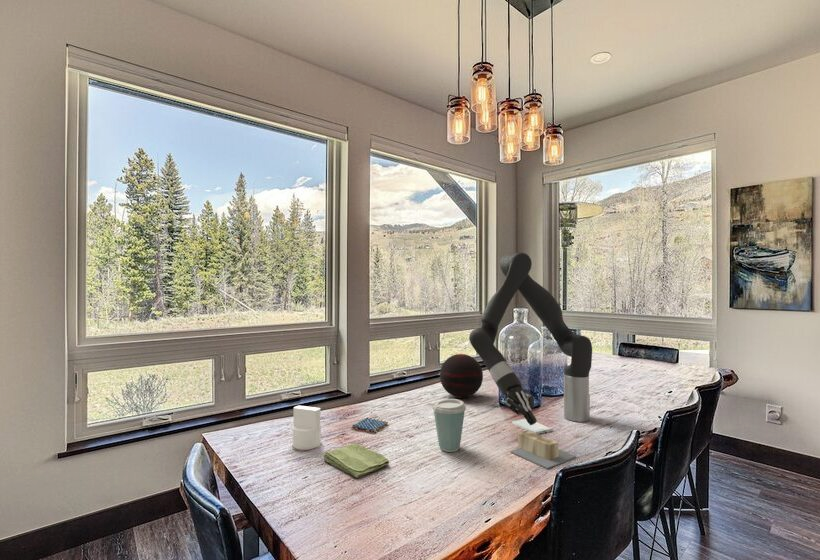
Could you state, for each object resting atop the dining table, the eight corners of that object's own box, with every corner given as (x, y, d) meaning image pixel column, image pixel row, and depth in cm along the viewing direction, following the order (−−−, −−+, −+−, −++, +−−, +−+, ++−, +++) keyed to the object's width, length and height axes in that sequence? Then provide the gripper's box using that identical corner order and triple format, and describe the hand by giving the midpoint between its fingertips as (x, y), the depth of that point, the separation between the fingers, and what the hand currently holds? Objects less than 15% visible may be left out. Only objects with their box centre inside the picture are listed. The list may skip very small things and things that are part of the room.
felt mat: (538, 442, 139) (538, 441, 139) (575, 457, 128) (575, 456, 128) (510, 452, 131) (510, 451, 131) (547, 469, 120) (547, 467, 120)
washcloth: (357, 482, 113) (357, 470, 113) (321, 461, 125) (321, 451, 125) (392, 467, 122) (392, 456, 122) (355, 449, 134) (355, 439, 134)
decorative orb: (463, 406, 180) (463, 360, 180) (430, 396, 195) (431, 353, 195) (491, 397, 193) (491, 354, 193) (459, 389, 208) (459, 349, 208)
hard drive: (511, 421, 158) (535, 431, 147) (528, 418, 161) (552, 428, 150) (511, 425, 158) (535, 436, 147) (528, 422, 161) (552, 432, 150)
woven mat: (349, 430, 151) (349, 425, 151) (366, 422, 160) (366, 416, 160) (374, 435, 146) (374, 430, 146) (389, 426, 156) (389, 421, 156)
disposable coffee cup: (443, 457, 127) (444, 408, 127) (426, 445, 137) (426, 399, 137) (472, 451, 132) (472, 404, 132) (453, 439, 142) (453, 395, 142)
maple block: (527, 430, 137) (558, 442, 128) (527, 443, 137) (558, 456, 128) (518, 433, 135) (549, 445, 125) (518, 446, 135) (549, 460, 125)
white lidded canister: (325, 440, 140) (325, 405, 140) (311, 451, 132) (311, 413, 132) (302, 437, 143) (303, 402, 143) (287, 447, 135) (287, 410, 134)
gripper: (497, 374, 137) (526, 421, 127) (523, 369, 144) (553, 413, 134) (485, 386, 141) (513, 433, 131) (512, 381, 149) (540, 425, 138)
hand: (533, 423), depth 133 cm, fingers closed
